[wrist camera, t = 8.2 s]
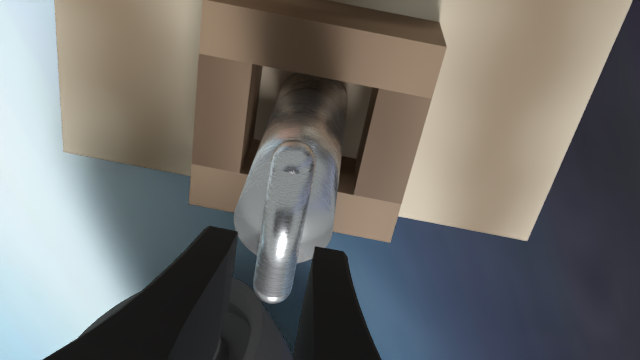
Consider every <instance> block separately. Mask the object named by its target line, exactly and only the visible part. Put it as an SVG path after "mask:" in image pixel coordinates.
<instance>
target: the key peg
mask: <svg viewBox="0 0 640 360" xmlns="http://www.w3.org/2000/svg"><path fill="white" fill-rule="evenodd" d="M347 107H348V97H347V93H346V90H345V88H344V86H343V84H342V83H341V82H340V81H338V80H333V79H328V78H322V77H317V76H312V75H307V74H302V73H297V72H295V73H294V74H292V75H291V76H289V77H288V78H287V79H286V81H285V82H284V84H283V85H282V88H281V90H280V93H279V95H278V98H277V101H276V103H275V106H274V109H273V111H272V114H271V116H270V119H269V122H268V124H267V127H266V130H265V132H264V135H263V137H262V140H261V143H260V145H259V148H258V151H257V153H256V156H255V158H254V161H253V164H252V166H251V169H250V172H249V174H248V177H247V179H246V182H245V185H244V187H243V190H242V193H241V195H240V198H239V200H238V203H237V206H236V208H235V212H234V226H235V230H236V231H238V237H239V239H240V240H241V242H242V243H243V244H244V245H245V246H246V247H247V248H248V249H249V250H250V251H251V252H252V253H254V254H255V255H257V260H256V267H255V274H254V280H253V287H254V291H255V293H256V295H257V296H258V298H259V299H261V300H262V301H263V302H266V303H269V304H276V303H280V302H282V301H284V300H285V299H286V298H287V297H288V296H289V294H290V293H291V290H292V287H293V281H294V276H295V271H296V266H297V263H301V262H305V261H308V260H310V259H312V258H313V253H314V248H315V246H317V247H322V248H326V246H327V245H328V244H329V242H330V240H331V237H332V233H333V225H334V217H335V208H336V200H337V192H338V183H339V175H340V166H341V158H342V149H343V141H344V133H345V124H346V116H347Z"/></svg>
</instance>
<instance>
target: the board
mask: <svg viewBox="0 0 640 360" xmlns="http://www.w3.org/2000/svg"><path fill="white" fill-rule="evenodd" d="M329 1H334V2H339V3H344V4H349V5H354V6H359V7H364V8H370V9H375V10H380V11H385V12H390V13H395V14H400V15H405V16H410V17H416V18H421V19H426V20H431V21H436V22H440V26H441V29H442V32H443V36H444V39H445V42H446V46H447V48H446V52H445V55H444V59H443V62H442V66H441V69H440V73H439V76H438V80H437V83H436V86H435V90H434V93H433V97H432V100H431V104H430V107H429V111H428V114H427V117H426V121H425V124H424V128H423V131H422V135H421V138H420V142H419V145H418V149H417V152H416V155H415V159H414V162H413V166H412V169H411V173H410V176H409V180H408V183H407V187H406V190H405V193H404V197H403V200H402V204H401V207H400V211H399V214H398V216H400V217H405V218H410V219H416V220H421V221H426V222H431V223H437V224H442V225H447V226H452V227H457V228H463V229H468V230H473V231H478V232H483V233H489V234H494V235H499V236H504V237H510V238H515V239H520V240H525V241H527V240H528V238H529V236H530V233H531V231H532V229H533V226H534V224H535V222H536V220H537V217H538V215H539V213H540V210H541V208H542V206H543V204H544V201H545V199H546V197H547V194H548V192H549V190H550V188H551V185H552V183H553V181H554V178H555V176H556V174H557V172H558V169H559V167H560V165H561V163H562V160H563V158H564V156H565V153H566V151H567V149H568V147H569V144H570V142H571V140H572V137H573V135H574V133H575V131H576V128H577V126H578V124H579V121H580V119H581V117H582V115H583V112H584V110H585V108H586V105H587V103H588V101H589V99H590V96H591V94H592V92H593V89H594V87H595V85H596V83H597V80H598V78H599V76H600V73H601V71H602V69H603V67H604V64H605V62H606V60H607V58H608V55H609V53H610V51H611V48H612V46H613V44H614V42H615V39H616V37H617V35H618V32H619V30H620V28H621V26H622V23H623V21H624V19H625V16H626V14H627V12H628V10H629V7H630V5H631V3H632V0H329ZM54 3H55V19H56V36H57V52H58V69H59V85H60V102H61V118H62V135H63V151H64V152H66V153H72V154H77V155H82V156H87V157H92V158H98V159H103V160H108V161H113V162H119V163H124V164H129V165H134V166H139V167H145V168H150V169H155V170H160V171H165V172H171V173H176V174H181V175H186V176H191V163H192V148H193V133H194V119H195V104H196V89H197V74H198V59H199V44H200V29H201V14H202V0H54ZM294 73H295V72H292V71H286V70H281V69H276V68H271V67H266V66H263V68H262V76H261V84H260V92H259V100H258V107H257V115H256V123H255V131H254V139H257V140H262V137H263V135H264V132H265V130H266V127H267V124H268V122H269V119H270V116H271V114H272V111H273V109H274V106H275V103H276V101H277V98H278V95H279V93H280V90H281V88H282V85H283V84H284V82H285V81H286V79H287V78H288V77H289V76H291V75H292V74H294ZM340 82H341V83H342V84H343V86H344V88H345V90H346V93H347V97H348V107H347V116H346V124H345V133H344V141H343V149H342V156H345V157H350V158H355V159H356V158H357V153H358V149H359V145H360V140H361V136H362V132H363V127H364V123H365V119H366V114H367V110H368V106H369V101H370V97H371V93H372V88H373V87H369V86H364V85H358V84H353V83H348V82H343V81H340Z"/></svg>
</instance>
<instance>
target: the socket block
mask: <svg viewBox="0 0 640 360" xmlns="http://www.w3.org/2000/svg"><path fill="white" fill-rule="evenodd" d="M446 48H447V46H446V42H445V39H444V36H443V32H442V29H441V26H440V22H436V21H431V20H426V19H421V18H416V17H410V16H405V15H400V14H395V13H390V12H385V11H380V10H375V9H370V8H364V7H359V6H354V5H349V4H344V3H339V2H334V1H329V0H202V14H201V29H200V44H199V59H198V74H197V89H196V104H195V119H194V133H193V148H192V163H191V178H190V193H189V204H191V205H196V206H202V207H207V208H212V209H217V210H222V211H228V212H233V213H234V212H235V208H236V206H237V203H238V200H239V198H240V195H241V193H242V190H243V187H244V185H245V182H246V179H247V177H248V174H249V172H250V169H251V166H252V164H253V161H254V158H255V156H256V153H257V151H258V148H259V145H260V143H261V140H257V139H254V131H255V123H256V115H257V107H258V100H259V92H260V84H261V76H262V68H263V66H266V67H271V68H276V69H281V70H286V71H292V72H297V73H302V74H307V75H312V76H317V77H322V78H328V79H333V80H338V81H343V82H348V83H353V84H358V85H364V86H369V87H373V88H372V93H371V97H370V101H369V106H368V110H367V114H366V119H365V123H364V127H363V132H362V136H361V140H360V145H359V149H358V153H357V158H356V159H355V158H350V157H345V156H342V158H341V166H340V175H339V183H338V192H337V200H336V208H335V217H334V225H333V232H337V233H343V234H348V235H353V236H358V237H364V238H369V239H374V240H379V241H385V242H391V238H392V235H393V231H394V228H395V225H396V221H397V218H398V214H399V211H400V207H401V204H402V200H403V197H404V193H405V190H406V187H407V183H408V180H409V176H410V173H411V169H412V166H413V162H414V159H415V155H416V152H417V149H418V145H419V142H420V138H421V135H422V131H423V128H424V124H425V121H426V117H427V114H428V111H429V107H430V104H431V100H432V97H433V93H434V90H435V86H436V83H437V80H438V76H439V73H440V69H441V66H442V62H443V59H444V55H445V52H446Z"/></svg>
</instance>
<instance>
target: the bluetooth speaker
mask: <svg viewBox="0 0 640 360" xmlns="http://www.w3.org/2000/svg"><path fill="white" fill-rule="evenodd" d="M137 294H138V293H136V294H134V295H133V296H131V297H129V298H128V299H126V300H124V301H122V302H121V303H119V304H118V305H116V306H115V307H113V308H112V309H110V310H109V311H108V312H106V313H105V314H104V315H102V316H101V317H100V318H98V319H97V320H96V321H95V322H94V323H93V324H92V325H91V326H89V327H88V328H87V329H86V330H85V331H84V332H83V333H82V334H81V335H80V336H82V335H83V334H85V333H86V332H88V331H89V330H91V329H92V328H94V327H95V326H97V325H98V324H99V323H101V322H102V321H104V320H105V319H106V318H108V317H109V316H110V315H112V314H113V313H114V312H116V311H117V310H118V309H120V308H121V307H122V306H123V305H125V304H126V303H127V302H128V301H129V300H131V299H132V298H133V297H134V296H136V295H137ZM80 336H79V337H80ZM79 337H78V338H79ZM212 360H293V355H292V353H291V351H290V349H289V347H288V345H287V343H286V341H285V339H284V337H283V336H282V334H281V332H280V331H279V329H278V327H277V326H276V324H275V322H274V321H273V319H272V318H271V316H270V314H269V313H268V311H267V310H266V308H265V307H264V305H263V304H262V302H261V301H260V299H259V298H258V296H257V295H256V293H255V292H254V291H253V290H252V288H251V287H249V286H248V285H247V284H246V283H244V282H242V281H241V280H238V279H236V278H232V286H231V294H230V302H229V307H228V310H227V314H226V318H225V322H224V325H223V329H222V333H221V336H220V340H219V343H218V347H217V349H216V352H215V354H214V357H213V359H212Z"/></svg>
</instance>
